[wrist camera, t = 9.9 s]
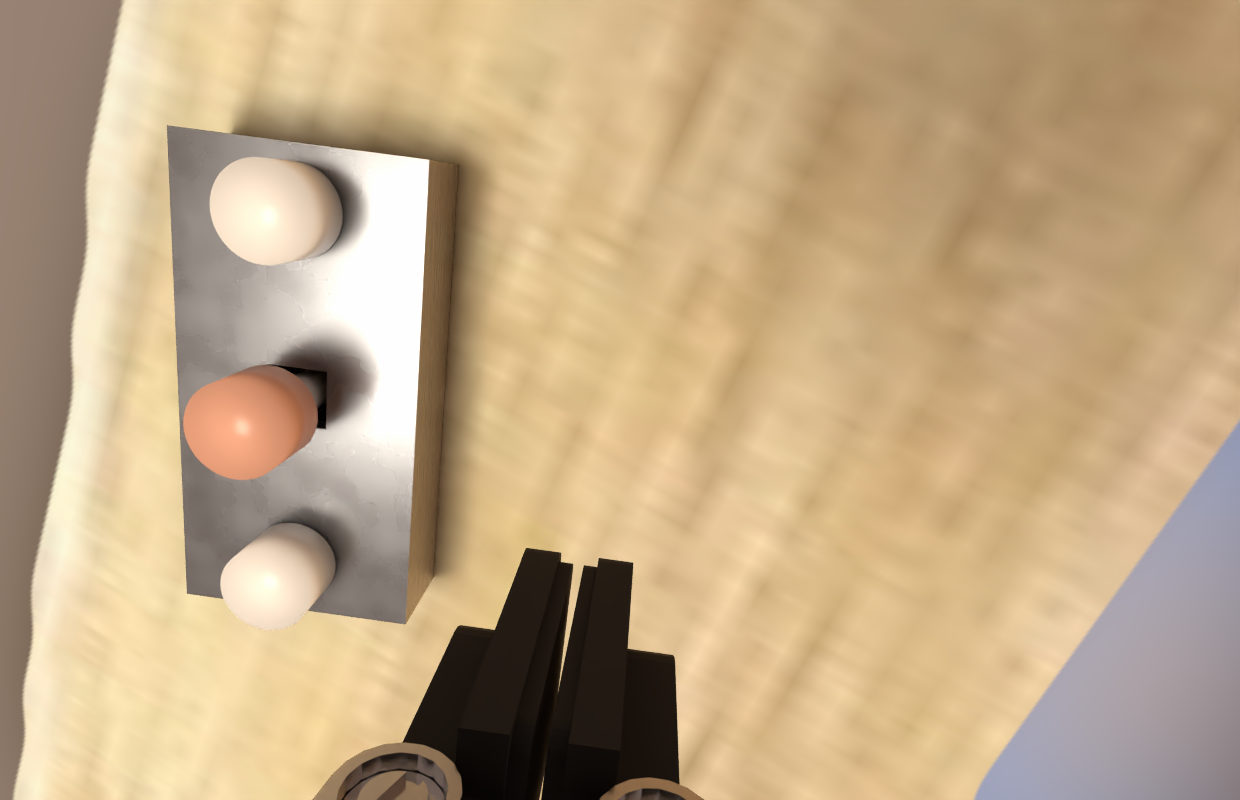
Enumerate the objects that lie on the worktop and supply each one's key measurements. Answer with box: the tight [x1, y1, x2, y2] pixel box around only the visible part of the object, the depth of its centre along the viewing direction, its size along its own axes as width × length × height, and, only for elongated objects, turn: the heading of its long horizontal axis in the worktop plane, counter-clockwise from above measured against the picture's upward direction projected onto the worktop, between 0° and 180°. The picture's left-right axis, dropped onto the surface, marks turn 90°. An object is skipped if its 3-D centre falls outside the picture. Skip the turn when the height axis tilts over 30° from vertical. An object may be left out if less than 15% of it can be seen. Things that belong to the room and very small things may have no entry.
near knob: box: [210, 157, 343, 265], centre depth 34 cm, size 4×4×8 cm
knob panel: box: [167, 125, 459, 624], centre depth 38 cm, size 24×12×5 cm, turn 173°
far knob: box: [220, 523, 336, 630], centre depth 39 cm, size 4×4×8 cm
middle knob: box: [183, 365, 327, 480], centre depth 34 cm, size 4×4×8 cm
